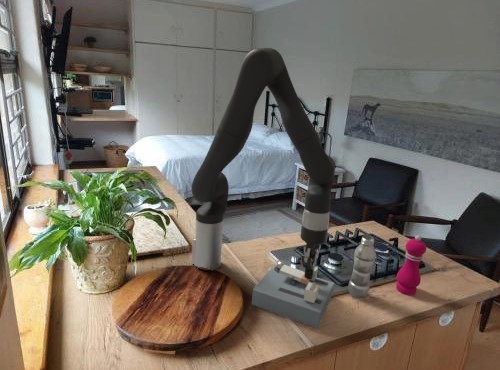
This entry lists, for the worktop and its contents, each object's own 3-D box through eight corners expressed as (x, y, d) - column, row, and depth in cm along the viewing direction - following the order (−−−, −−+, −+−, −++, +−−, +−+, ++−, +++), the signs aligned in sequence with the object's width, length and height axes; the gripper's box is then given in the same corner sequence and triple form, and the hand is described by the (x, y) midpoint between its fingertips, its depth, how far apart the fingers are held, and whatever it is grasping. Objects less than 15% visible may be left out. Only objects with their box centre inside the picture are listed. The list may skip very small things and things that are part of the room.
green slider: (304, 278, 110) (306, 266, 109) (307, 274, 112) (309, 262, 111) (314, 281, 109) (315, 269, 108) (316, 277, 111) (318, 265, 110)
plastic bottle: (345, 297, 111) (356, 240, 105) (347, 286, 117) (358, 231, 112) (367, 303, 109) (379, 244, 103) (368, 292, 115) (379, 236, 110)
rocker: (278, 274, 108) (279, 270, 108) (283, 267, 112) (284, 263, 112) (306, 284, 105) (307, 281, 104) (311, 277, 109) (311, 274, 108)
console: (251, 304, 104) (253, 285, 102) (273, 277, 119) (274, 261, 117) (317, 328, 96) (320, 308, 95) (331, 296, 111) (334, 278, 110)
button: (274, 268, 114) (275, 262, 113) (278, 265, 116) (278, 259, 116) (283, 271, 113) (284, 265, 112) (286, 267, 115) (287, 261, 115)
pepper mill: (390, 289, 118) (403, 234, 112) (399, 281, 123) (411, 228, 117) (412, 299, 114) (427, 242, 108) (420, 290, 119) (434, 236, 113)
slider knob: (303, 299, 99) (305, 287, 98) (307, 292, 103) (309, 280, 101) (314, 303, 98) (315, 290, 97) (317, 295, 101) (319, 283, 100)
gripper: (322, 235, 94) (314, 292, 99) (333, 219, 106) (326, 271, 111) (295, 229, 97) (289, 284, 102) (308, 214, 109) (303, 265, 114)
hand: (308, 277), depth 106 cm, fingers closed
